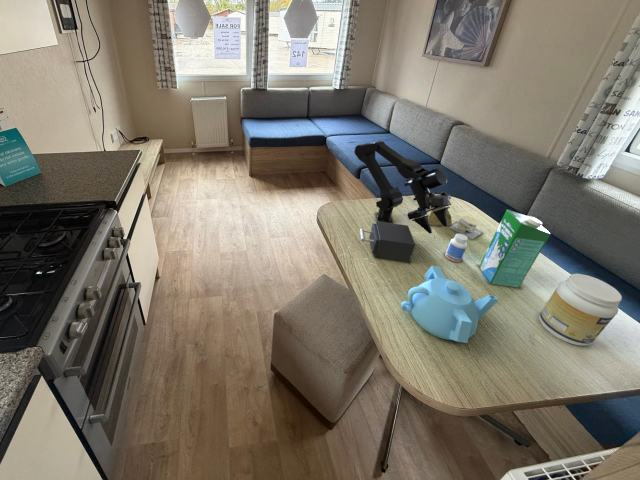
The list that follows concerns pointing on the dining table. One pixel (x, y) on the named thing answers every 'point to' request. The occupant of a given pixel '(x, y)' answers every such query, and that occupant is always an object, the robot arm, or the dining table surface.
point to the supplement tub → (580, 309)
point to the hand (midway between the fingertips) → (438, 229)
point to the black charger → (394, 242)
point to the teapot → (446, 307)
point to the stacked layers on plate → (466, 227)
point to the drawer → (371, 238)
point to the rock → (435, 221)
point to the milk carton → (513, 249)
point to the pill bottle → (457, 247)
